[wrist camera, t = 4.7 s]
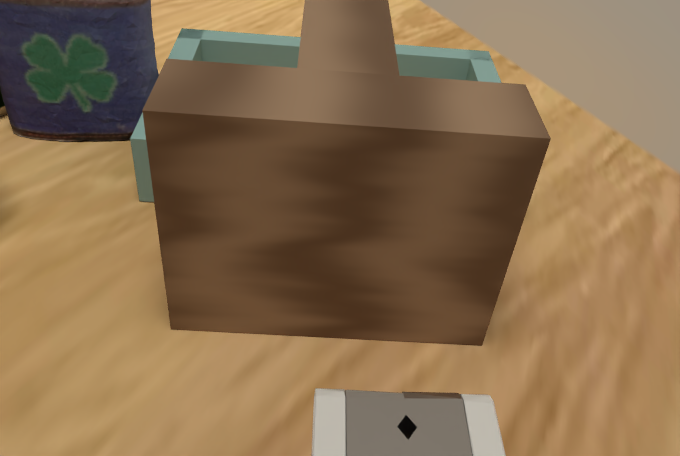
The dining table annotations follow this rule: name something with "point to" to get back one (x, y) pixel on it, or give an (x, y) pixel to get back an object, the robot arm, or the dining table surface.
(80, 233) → the dining table surface
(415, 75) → the fence
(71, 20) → the flask
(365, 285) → the t block
